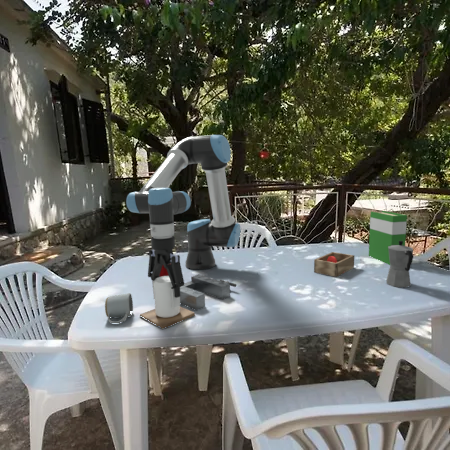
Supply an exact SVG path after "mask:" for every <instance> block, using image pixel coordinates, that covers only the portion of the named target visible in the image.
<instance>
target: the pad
mask: <svg viewBox="0 0 450 450" xmlns="http://www.w3.org/2000/svg"><path fill="white" fill-rule="evenodd" d="M140 316H142V317H144V318H145V319H147V320H149V321H150V322H152V323H154V324H156V325H157V326H160V327H161V328H165V327H167V328H169V327H168V326H170V327H171V325H172V326H174V325H176V324H175V323H177V322H179V323H181V322H183V321H186V320H188V319H190V318H192V316H193V317H194V316H196V313H195V311H192V310H189V309H188V308H185V307H182V306H180V312H179V313H178V314H177V315H175V316H173V317H168V318H163V317H159V316H157V315H156V312H155V308H154V309H151V310H149V311H146V312H143V313H141V314H139V317H140ZM187 318H188V319H187ZM185 319H186V320H185ZM182 320H183V321H182ZM180 321H181V322H180ZM150 322H149V323H150ZM152 323H151V324H152ZM154 324H153V325H154ZM173 324H174V325H173ZM177 324H178V323H177ZM157 326H156V327H157ZM161 328H160V329H161ZM165 329H166V328H165Z"/></svg>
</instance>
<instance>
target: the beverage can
mask: <svg viewBox="0 0 450 450" xmlns="http://www.w3.org/2000/svg"><path fill="white" fill-rule="evenodd" d="M175 284H176V283H175ZM171 287H173V286H172V283H171V281H170V278H169V276H162V277H159V278H156V279H155V282H154V294H153V299H154V298H155V299H154V309H155V312H156V315H157V316H159V317H163V318H168V317H173V316H175V315H177V314H178V313H179V312H180V307H181V304H180V305H179V306H177V307H174V308H173V307H172V297H171Z"/></svg>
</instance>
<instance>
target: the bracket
mask: <svg viewBox="0 0 450 450" xmlns="http://www.w3.org/2000/svg"><path fill="white" fill-rule="evenodd" d="M327 261H328V262H333V263H337V260H336V258H335V257H334V256H329V257H328V259H327ZM344 274H345V273H344V272H343V274H342V275H344Z"/></svg>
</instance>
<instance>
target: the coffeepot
mask: <svg viewBox="0 0 450 450" xmlns="http://www.w3.org/2000/svg"><path fill="white" fill-rule="evenodd" d="M402 244H403V241H399V245H391V246H388V250H389V260H390V265H389V269H388V273H387V276H386V284H387V285H388V286H391V287H394V288H402V287H404V288H409V287H411V276H410V269H411V266H412V263H413V260H414V254H413V253H414V249H413V247H411V246H408V245H405V246H403V245H402ZM408 286H409V287H408Z"/></svg>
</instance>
